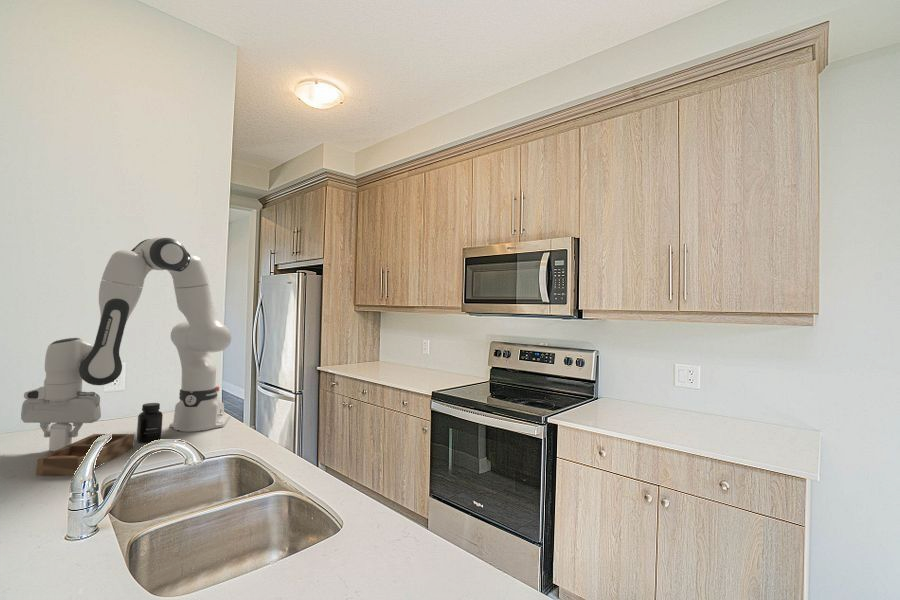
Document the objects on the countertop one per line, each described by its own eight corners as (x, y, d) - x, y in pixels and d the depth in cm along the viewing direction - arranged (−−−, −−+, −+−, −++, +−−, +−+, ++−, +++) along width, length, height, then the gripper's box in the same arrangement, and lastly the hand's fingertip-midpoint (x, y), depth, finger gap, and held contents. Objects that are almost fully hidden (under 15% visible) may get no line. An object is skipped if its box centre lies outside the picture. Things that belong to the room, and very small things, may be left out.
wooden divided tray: (93, 448, 135) (94, 433, 135) (133, 448, 137) (133, 433, 137) (36, 475, 114) (36, 457, 114) (83, 475, 115) (84, 457, 115)
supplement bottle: (148, 444, 141) (150, 407, 141) (131, 442, 142) (132, 405, 142) (166, 438, 148) (168, 402, 148) (149, 436, 149) (151, 401, 149)
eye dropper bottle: (53, 454, 129) (55, 413, 130) (47, 450, 132) (49, 410, 133) (72, 450, 133) (74, 411, 133) (66, 446, 136) (67, 408, 136)
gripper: (106, 389, 137) (104, 433, 137) (35, 388, 135) (33, 433, 135) (92, 394, 131) (90, 440, 131) (17, 393, 129) (15, 440, 129)
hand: (61, 436), depth 133 cm, fingers closed on eye dropper bottle, 5 cm apart
